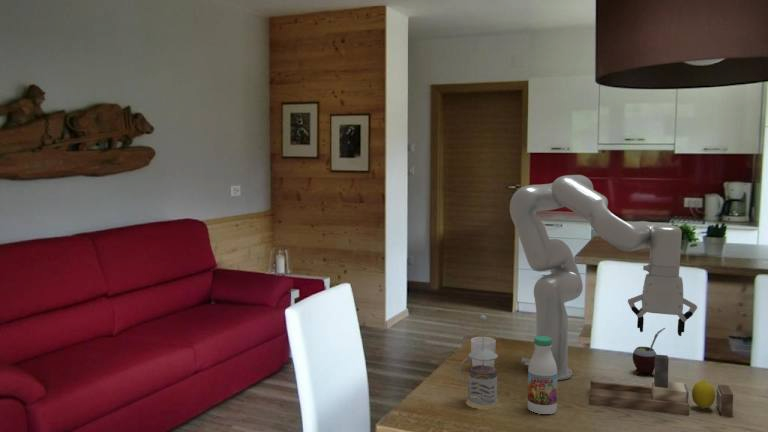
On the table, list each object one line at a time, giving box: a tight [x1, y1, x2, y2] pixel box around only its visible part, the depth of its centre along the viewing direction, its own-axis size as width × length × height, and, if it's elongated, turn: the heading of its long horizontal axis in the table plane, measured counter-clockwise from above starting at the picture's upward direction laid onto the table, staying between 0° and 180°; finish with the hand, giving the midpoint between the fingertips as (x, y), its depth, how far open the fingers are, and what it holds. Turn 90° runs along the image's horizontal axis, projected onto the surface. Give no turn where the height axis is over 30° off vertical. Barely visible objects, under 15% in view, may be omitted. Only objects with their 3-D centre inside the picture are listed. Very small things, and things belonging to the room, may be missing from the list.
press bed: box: [589, 380, 690, 416], centre depth 179 cm, size 25×11×3 cm, turn 71°
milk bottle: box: [527, 336, 558, 415], centre depth 174 cm, size 8×8×20 cm
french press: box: [458, 314, 499, 405], centre depth 179 cm, size 10×12×25 cm
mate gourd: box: [632, 327, 666, 378], centre depth 202 cm, size 8×8×15 cm
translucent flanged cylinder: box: [470, 336, 497, 368], centre depth 207 cm, size 8×8×10 cm
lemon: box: [691, 379, 716, 410], centre depth 174 cm, size 6×6×8 cm
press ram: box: [651, 353, 690, 403], centre depth 176 cm, size 9×7×12 cm
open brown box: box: [715, 384, 734, 418], centre depth 172 cm, size 3×7×6 cm, turn 161°
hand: (660, 332), depth 176 cm, fingers open, 9 cm apart
